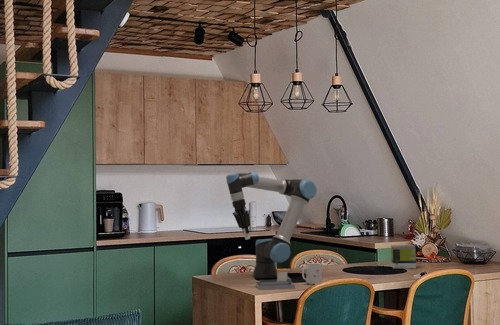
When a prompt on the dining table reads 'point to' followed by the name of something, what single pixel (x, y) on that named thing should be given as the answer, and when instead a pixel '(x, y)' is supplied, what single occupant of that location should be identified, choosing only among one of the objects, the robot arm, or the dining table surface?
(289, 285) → the grey tray
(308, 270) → the mug
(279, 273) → the grey orange-topped container
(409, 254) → the tea box
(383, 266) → the dining table surface
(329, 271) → the dining table surface
